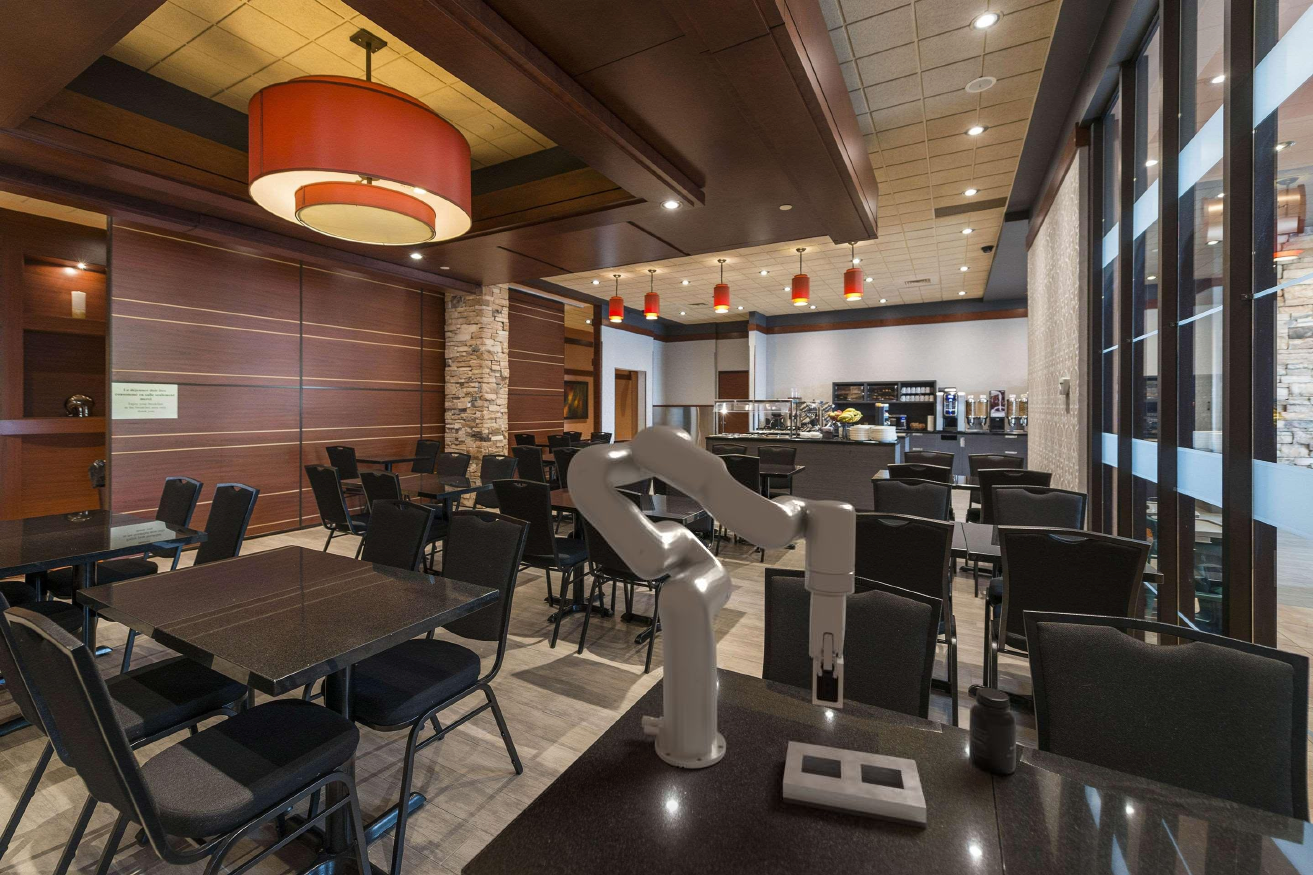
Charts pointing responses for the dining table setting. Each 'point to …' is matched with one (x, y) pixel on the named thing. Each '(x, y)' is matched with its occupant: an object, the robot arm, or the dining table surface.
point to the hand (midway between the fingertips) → (827, 693)
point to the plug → (840, 682)
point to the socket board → (854, 783)
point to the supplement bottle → (992, 732)
